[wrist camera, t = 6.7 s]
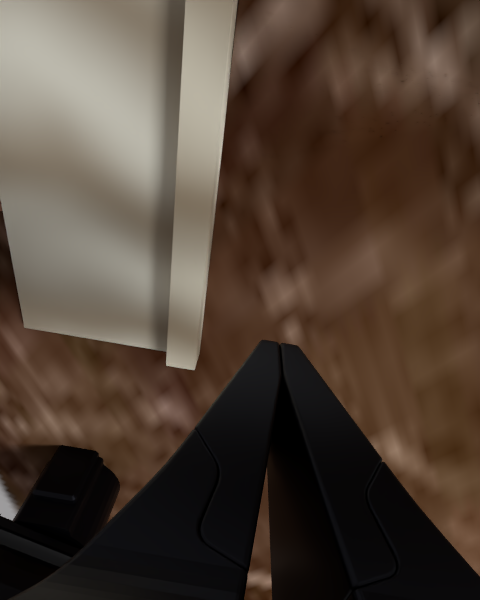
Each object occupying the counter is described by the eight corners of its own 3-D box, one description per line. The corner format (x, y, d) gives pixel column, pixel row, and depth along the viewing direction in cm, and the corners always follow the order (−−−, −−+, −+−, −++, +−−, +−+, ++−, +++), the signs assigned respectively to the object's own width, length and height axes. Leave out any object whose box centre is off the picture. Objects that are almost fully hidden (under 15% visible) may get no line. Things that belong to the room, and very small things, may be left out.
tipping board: (199, 352, 21) (194, 370, 20) (28, 323, 21) (12, 339, 20) (240, -14, 13) (235, -25, 11) (-40, -60, 13) (-76, -76, 11)
